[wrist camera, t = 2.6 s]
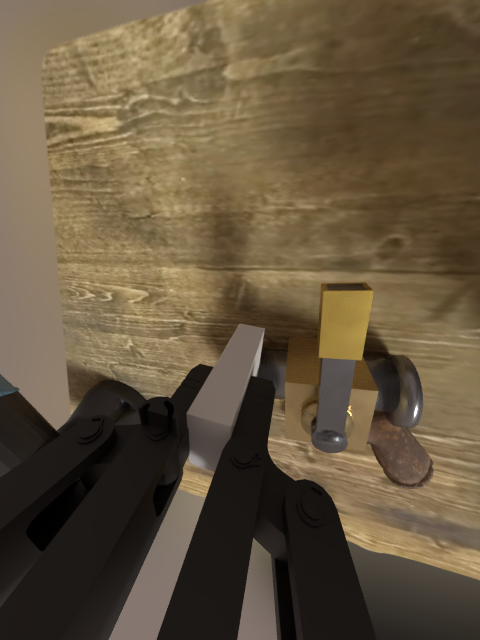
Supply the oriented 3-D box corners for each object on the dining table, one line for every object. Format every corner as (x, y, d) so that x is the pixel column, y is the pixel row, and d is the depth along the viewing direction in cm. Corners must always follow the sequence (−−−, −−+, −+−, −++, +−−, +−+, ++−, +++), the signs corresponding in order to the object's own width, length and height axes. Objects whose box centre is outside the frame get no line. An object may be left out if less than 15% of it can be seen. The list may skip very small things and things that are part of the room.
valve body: (259, 380, 33) (244, 438, 24) (255, 335, 30) (237, 383, 21) (384, 392, 29) (420, 468, 20) (397, 341, 25) (447, 404, 17)
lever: (342, 439, 21) (346, 458, 19) (309, 434, 21) (310, 451, 20) (367, 282, 14) (375, 290, 13) (319, 283, 15) (321, 291, 13)
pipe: (291, 425, 29) (303, 483, 31) (444, 429, 23) (446, 500, 25) (294, 397, 35) (304, 447, 37) (417, 394, 29) (420, 454, 31)
